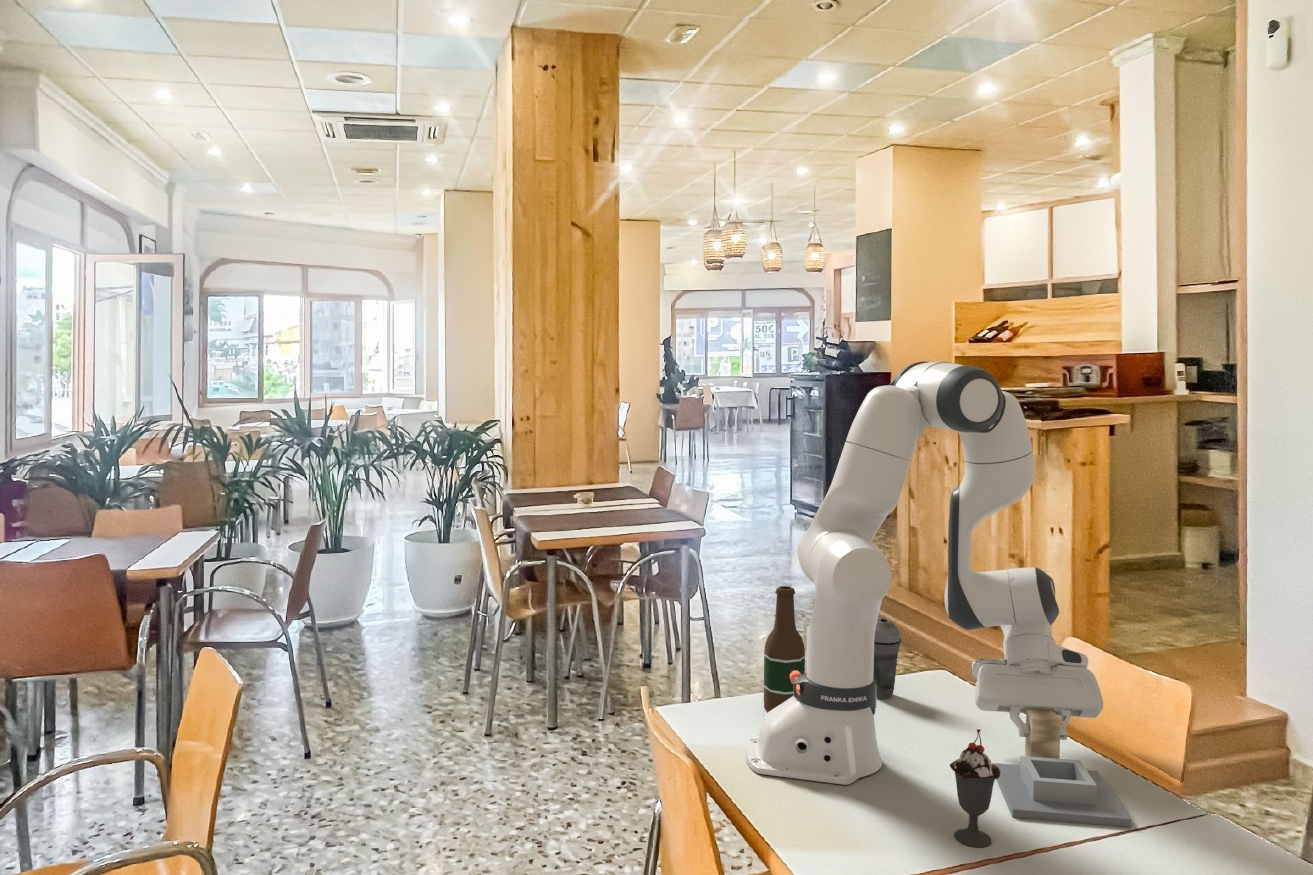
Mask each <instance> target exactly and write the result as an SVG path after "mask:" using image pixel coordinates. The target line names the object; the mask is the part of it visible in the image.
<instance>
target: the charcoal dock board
mask: <svg viewBox="0 0 1313 875" xmlns="http://www.w3.org/2000/svg"><path fill="white" fill-rule="evenodd" d="M991 764H993V765H996V766H997V767H998V768H999V769H1000V777H999V778H998V779H995V780H996V782H997V784H998V787H999V790H1000V792H1001V794H1002V797H1003V798H1004V801H1005V803H1006V806H1007V808H1008V810H1009V813H1010V815H1011V817H1012V818H1018V819H1029V820H1040V821H1041V820H1042V821H1053V822H1054V821H1055V822H1062V823H1063V822H1064V823H1065V822H1066V823H1074V824H1076V823H1078V824H1089V825H1101V826H1111V827H1112V826H1113V827H1121V828H1124V827H1125V828H1131V822H1132V821H1131V817H1130V816H1129V815H1128V813H1127V811H1126V810H1125V809H1124V808H1123V806H1122V804H1121V803H1120V802H1119V800H1118V799H1117V797H1116V796H1115V794H1114V793H1113V792H1112V790H1111V789H1110V787H1109V786H1108V785H1107V783H1106V781H1105V780H1104V779H1103V777H1102V775H1101V774H1100V773H1099V772H1098V770H1092V769H1090V770H1089V769H1086V766H1084V763H1082V761H1081V760H1078V759H1066V758H1064V759H1063V758H1060V759H1056V758H1042V757H1028V756H1025V755H1020V764H1013V763H1012V764H1011V763H999V762H991Z"/></svg>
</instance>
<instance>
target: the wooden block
mask: <svg viewBox="0 0 1313 875" xmlns="http://www.w3.org/2000/svg"><path fill="white" fill-rule="evenodd" d="M1025 714H1026V715H1025V723H1026V724H1029V727H1030V728H1029V729H1030V736H1029V737H1025V744H1024V745H1025V746H1024V756H1028V757H1042V758H1056V759H1061V757H1060V755H1061V750H1060V749H1061V740H1060V729H1061V726H1062V724H1061V723H1062V721H1061V720H1060V717H1059V716H1057V715H1056V713H1055V712H1054V711H1048V710H1032V709H1026V713H1025Z"/></svg>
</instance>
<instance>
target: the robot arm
mask: <svg viewBox="0 0 1313 875" xmlns="http://www.w3.org/2000/svg"><path fill="white" fill-rule="evenodd" d="M929 427H931V428H934V429H940V430H946V431H951V430H952V431H956V432H957V433H958V435H959V438H960V439H961V443H962V445H961V446H962V452H963V458H964V474H963V477H962V480H961V482H960V485H958V486H956V487H955V488H953V489H952V492H951V496H950V499H949V514H948V515H949V516H948V528H947V529H948V534H947V535H948V544H947V565H948V566H947V573H948V574H947V578H946V584H945V588H944V598H943V600H944V606H945V611H946V613H947V615H948V618H949V620H950V621H951V622H953V623H954V624H955V625H957V626H958V627H960V628H962V629H964V630H965V631H971V630H977V629H978V630H979V629H984V628H987V627H997V626H998V627H999V626H1000V628H1001V631H1002V633H1003V643H1002V647H1003V653H1004V654H1003V655H1004V658H986V657H982V658H978V660H975V661H974V662H972V664H971V667H970V669H971V676H972V678H973V679H974V681H976V682H975V691H974V692H975V695H974V696H975V697H974V698H975V706H976V707H977V708H978V709H979V710H981V711H985V712H999V713H1009V718H1010V720H1011V721H1012V722H1013V724H1014V725H1015V726H1016V728H1017V729H1018V736H1019V737H1021V738H1026V737H1029V736H1030V729H1029V728H1030V727H1029V724H1026V722H1025V723H1024V721H1023V720H1022V718H1021V716H1020V714H1026V709H1032V710H1048V711H1054V712H1055V713H1056V715H1057V716H1058V717H1059V719H1060V720H1061V722H1063V723H1062V724H1061V729H1060V741H1061V740H1062V741H1066V740H1068V731H1067V727H1068V725H1069V722H1070V721H1071V719H1072V717H1074V718H1088V719H1089V718H1090V719H1096V718H1097V717H1098V716H1099V715H1100V714H1101V712H1102V711H1103V709H1104V700H1103V696H1102V695H1103V694H1102V692H1101V689H1100V685H1099V683H1098V679H1097V678H1096V675H1095V674H1094V673H1093V671H1091V670H1090V669H1088V666H1089V658H1088V656H1087V655H1086V654H1084V653H1082V652H1079V651H1076V650H1072V649H1070V648H1066V647H1064V646H1061V645H1058V644H1057V643H1056V640H1055V638H1054V636H1053V634H1052V630H1053V629H1052V628H1053V624H1054V622H1056V620H1057V618H1058V616H1059V615H1060V608H1059V605H1058V603H1057V599H1056V587H1055V586H1056V585H1055V582H1054V579H1053V578H1052V577H1051V576H1050V575H1049V574H1048V573H1046V572H1045V571H1043V570H1042V569H1041V568H1038V567H1032V566H1031V567H1030V566H1029V567H1027V566H1026V567H1017V568H1008V569H1000V570H999V569H998V570H987V571H974V570H973V569H972V566H971V565H972V537H973V536H972V534H973V531H974V530H975V528H976V526H977V525H978V524H979V523H981V522H982V521H984V520H985V519H986V518H989V517H990V516H992V515H993V514H996V513H999V512H1000V511H1002V510H1004V509H1006V508H1008V507H1010V506H1013V505H1014V504H1015V503H1017V502H1018V501H1019V500H1021V499H1022V498H1023V497H1024V496H1025V495H1026V494H1027V493H1028V492H1029V490H1030V488H1031V487H1032V486H1033V483H1034V480H1035V460H1034V451H1033V447H1032V446H1033V445H1032V440H1031V437H1030V436H1031V435H1030V432H1029V428H1028V425H1027V421H1026V419H1025V415H1024V413H1023V410H1022V407H1021V405H1020V402H1019V400H1018V399H1017V398H1016V396H1014V394H1012V393H1010V392H1007V391H1004V390H1002V388H1001V385H1000V384H999V382H998V380H996V378H995V377H994V376H993V375H992V374H990V373H989V372H988V371H987V370H985V369H983V368H980V367H977V366H974V365H967V364H966V365H964V364H959V363H954V362H951V361H917V362H914V363H911V364H909V365H907V366H905V367H904V368H902V369H901V370H900V371H899V372H898V373H897V374H896V375H895V377H894V378H893V380H892V381H891V383H889V384H888V385H879V386H875V387H874V388H873V389H871V390H870V391H869V392H868V393H866V396H865V398H864V399H863V401H862V403H861V404H860V406H859V408H858V411H857V413H856V415H855V417H854V419H853V421H852V423H851V426H850V428H849V431H848V434H847V437H846V440H845V442H844V446H843V448H842V451H841V453H840V454H841V455H840V457H839V461H838V464H837V466H836V470H835V472H834V474H833V478H832V481H831V484H830V486H829V488H828V491H827V492H826V495H825V496H824V498H823V500H822V503H821V504H820V506H819V508H818V509H817V511H816V513H815V515H814V517H813V519H812V521H811V523H810V526H809V527H808V528H807V529H806V530H805V532H804V533H803V534H802V536H801V537H800V539H799V541H798V544H797V558H798V562H799V565H800V568H801V570H802V572H803V574H804V575H805V577H807V578H808V579H809V580H810V581H811V582H812V583H814V586H815V600H814V604H813V605H814V606H813V609H812V615H811V621H810V623H809V624H808V626H807V628H806V645H805V646H806V647H805V648H806V650H805V673H804V674H803V675H801V673H800V672H799V671H796V670H795V671H792V673H790V681H791V683H792V684H794V686H793V691H794V696H792V697H791V698H789V699H788V700H786V701H785V702H783V703H782V704H780V705H779V706H777V707H775V708H774V709H772V710H771V711H769V712H768V711H767V713H766V714H765V716H764V718H763V720H762V723H761V726H760V731H759V734H757V735H755V736H754V737H752V738H751V739H750V740H749V741H748V742H747V745H746V751H745V760H746V763H747V765H748V767H749V768H750V769H751V770H752V771H754V772H755V773H757V774H758V775H759V774H760V775H766V776H767V775H768V776H774V777H782V778H788V779H789V778H791V779H797V780H807V781H813V782H820V783H829V784H836V785H837V784H838V785H851V784H852V783H854V782H856V781H857V780H858V779H860V778H864V777H867V776H870V775H873V774H874V773H876V772H878V770H880V769H882V766H883V761H882V758H881V753H880V749H879V745H878V740H877V732H876V724H875V722H876V721H875V714H876V708H877V700H878V699H877V687H876V681H875V679H874V677H873V671H874V637H875V629H876V624H877V620H878V615H879V611H880V612H881V605H882V602H883V599H884V598H885V597H886V595H887V593H888V592H889V590H890V587H891V584H892V569H891V566H890V563H889V562H888V560H887V558H886V556H885V555H884V553H883V551H882V550H881V548H880V547H878V546H877V545H876V544H875V543H874V542H873V541H874V538H875V537H876V535H877V533H878V531H879V530H880V528H881V526H882V524H883V523H884V522H885V520H886V518H887V517H888V516H889V515H890V514H891V513H892V512H893V511H894V510H895V509H896V508H897V506H898V503H899V501H900V497H901V494H902V490H903V487H904V484H905V481H906V479H907V476H908V472H909V469H910V466H911V463H912V460H913V458H914V454H915V450H916V448H917V447H916V446H917V443H918V441H919V440H920V438H921V436H922V434H923V433H924V431H926V430H927V429H928V428H929Z"/></svg>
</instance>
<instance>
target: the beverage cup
mask: <svg viewBox="0 0 1313 875" xmlns="http://www.w3.org/2000/svg"><path fill="white" fill-rule="evenodd" d="M901 643H902V639H901V633H900V631H899V629H898V627H897V625H896V624H895V623H893V621H891V620H888V619H887V618H881V610H880V611H879V615H878V620H877V624H876V629H875V637H874V671H873V677H874V679H875V681H876V687H877V700H889V699H892V698H894V690H895V684H896V676H897V675H896V674H897V664H898V663H897V662H898V654H899V651H900V646H901Z"/></svg>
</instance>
